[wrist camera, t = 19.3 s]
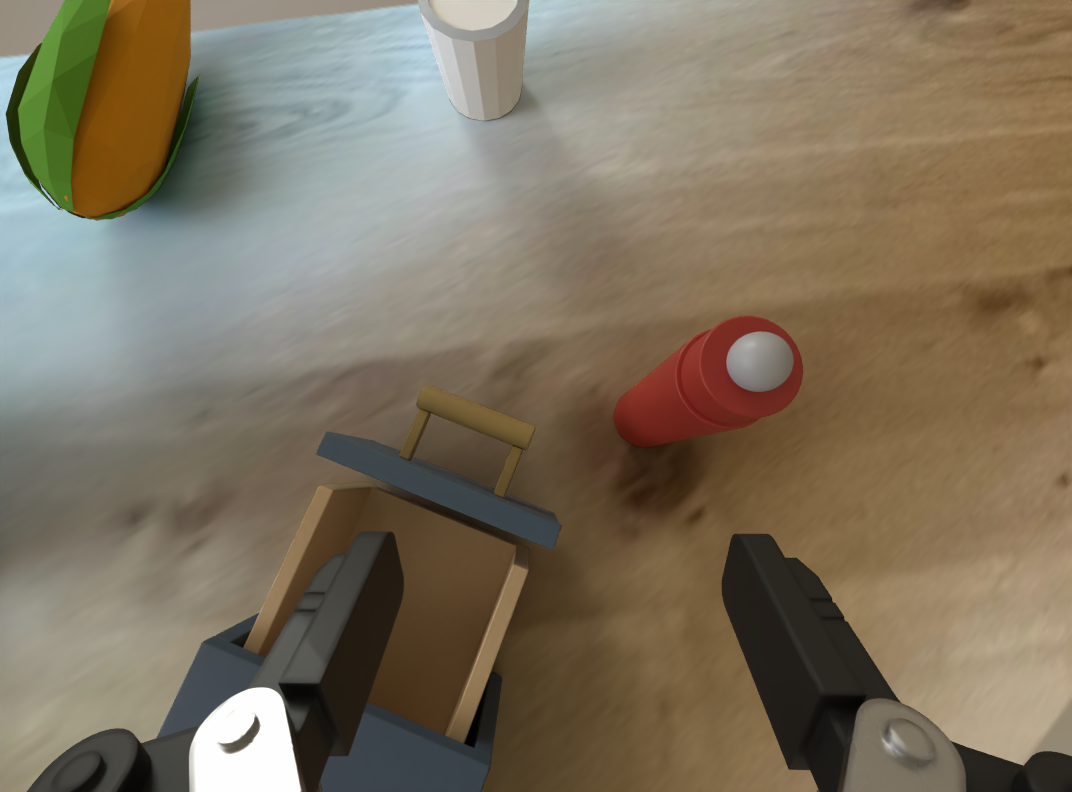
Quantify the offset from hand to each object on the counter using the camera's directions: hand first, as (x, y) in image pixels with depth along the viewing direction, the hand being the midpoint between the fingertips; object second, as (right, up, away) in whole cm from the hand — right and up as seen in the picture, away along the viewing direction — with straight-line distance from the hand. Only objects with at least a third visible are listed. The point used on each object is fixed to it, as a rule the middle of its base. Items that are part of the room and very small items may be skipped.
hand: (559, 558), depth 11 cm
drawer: (-7, -6, +17) cm, 19 cm away
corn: (-28, +25, +23) cm, 44 cm away
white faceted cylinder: (-4, +27, +24) cm, 36 cm away
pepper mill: (+7, +2, +19) cm, 21 cm away
